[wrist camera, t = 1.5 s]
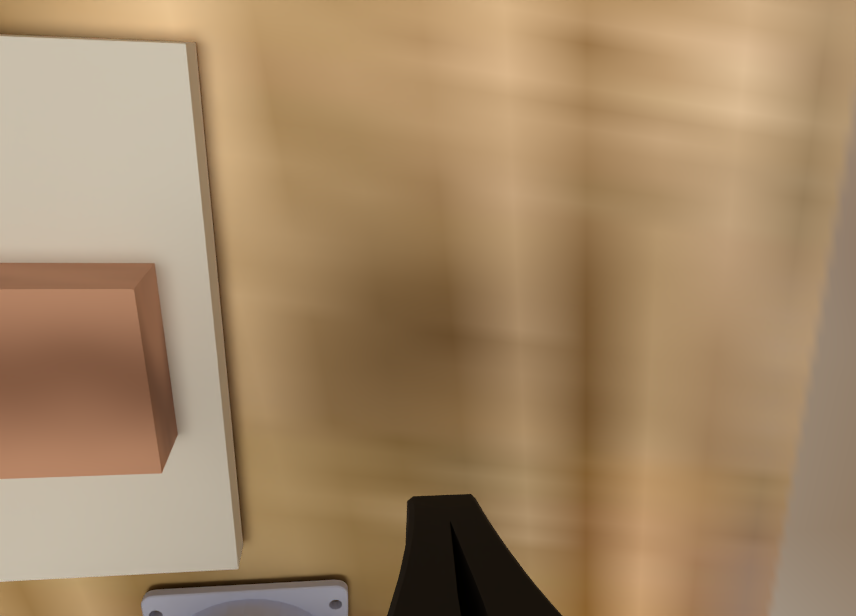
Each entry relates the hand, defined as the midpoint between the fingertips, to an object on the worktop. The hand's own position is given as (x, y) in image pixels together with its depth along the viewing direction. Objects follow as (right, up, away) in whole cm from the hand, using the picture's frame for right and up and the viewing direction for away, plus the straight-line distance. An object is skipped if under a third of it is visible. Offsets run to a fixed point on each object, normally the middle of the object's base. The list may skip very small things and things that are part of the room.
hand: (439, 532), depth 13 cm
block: (-12, +3, +6) cm, 14 cm away
